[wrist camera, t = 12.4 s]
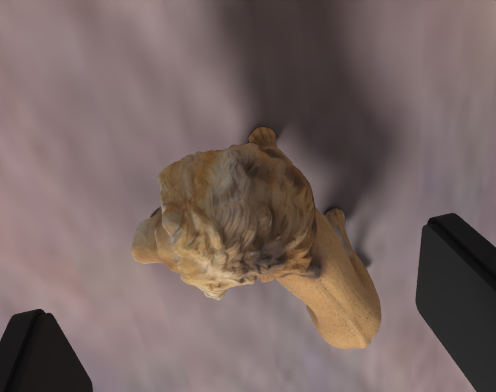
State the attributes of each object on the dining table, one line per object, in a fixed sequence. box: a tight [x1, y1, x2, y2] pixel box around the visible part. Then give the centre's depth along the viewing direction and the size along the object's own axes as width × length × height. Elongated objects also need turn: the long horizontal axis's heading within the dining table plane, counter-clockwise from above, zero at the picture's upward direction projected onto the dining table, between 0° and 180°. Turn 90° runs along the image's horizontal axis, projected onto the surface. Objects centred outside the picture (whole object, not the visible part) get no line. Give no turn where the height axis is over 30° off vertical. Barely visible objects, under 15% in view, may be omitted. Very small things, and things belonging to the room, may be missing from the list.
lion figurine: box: [131, 127, 381, 349], centre depth 16 cm, size 15×5×9 cm, turn 46°
